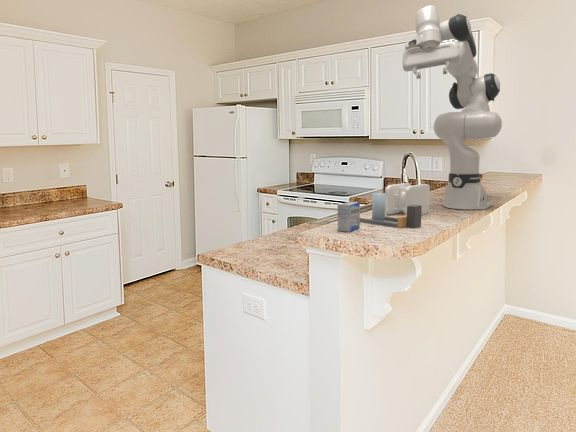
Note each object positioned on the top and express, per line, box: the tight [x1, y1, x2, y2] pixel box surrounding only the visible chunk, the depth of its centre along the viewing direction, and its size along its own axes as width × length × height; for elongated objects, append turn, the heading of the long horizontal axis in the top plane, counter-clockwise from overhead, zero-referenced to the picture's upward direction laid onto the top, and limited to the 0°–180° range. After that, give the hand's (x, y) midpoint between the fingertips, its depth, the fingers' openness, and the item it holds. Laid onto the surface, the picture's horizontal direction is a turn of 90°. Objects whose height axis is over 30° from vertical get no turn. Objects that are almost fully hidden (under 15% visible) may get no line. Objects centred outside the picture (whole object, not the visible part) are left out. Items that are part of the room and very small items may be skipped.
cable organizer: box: [384, 182, 431, 216], centre depth 177 cm, size 15×11×12 cm
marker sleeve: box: [371, 192, 386, 221], centre depth 162 cm, size 4×4×10 cm
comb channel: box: [360, 205, 422, 229], centre depth 159 cm, size 10×20×7 cm, turn 44°
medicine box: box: [337, 201, 361, 233], centre depth 150 cm, size 8×4×9 cm, turn 148°
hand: (431, 75), depth 170 cm, fingers open, 8 cm apart
